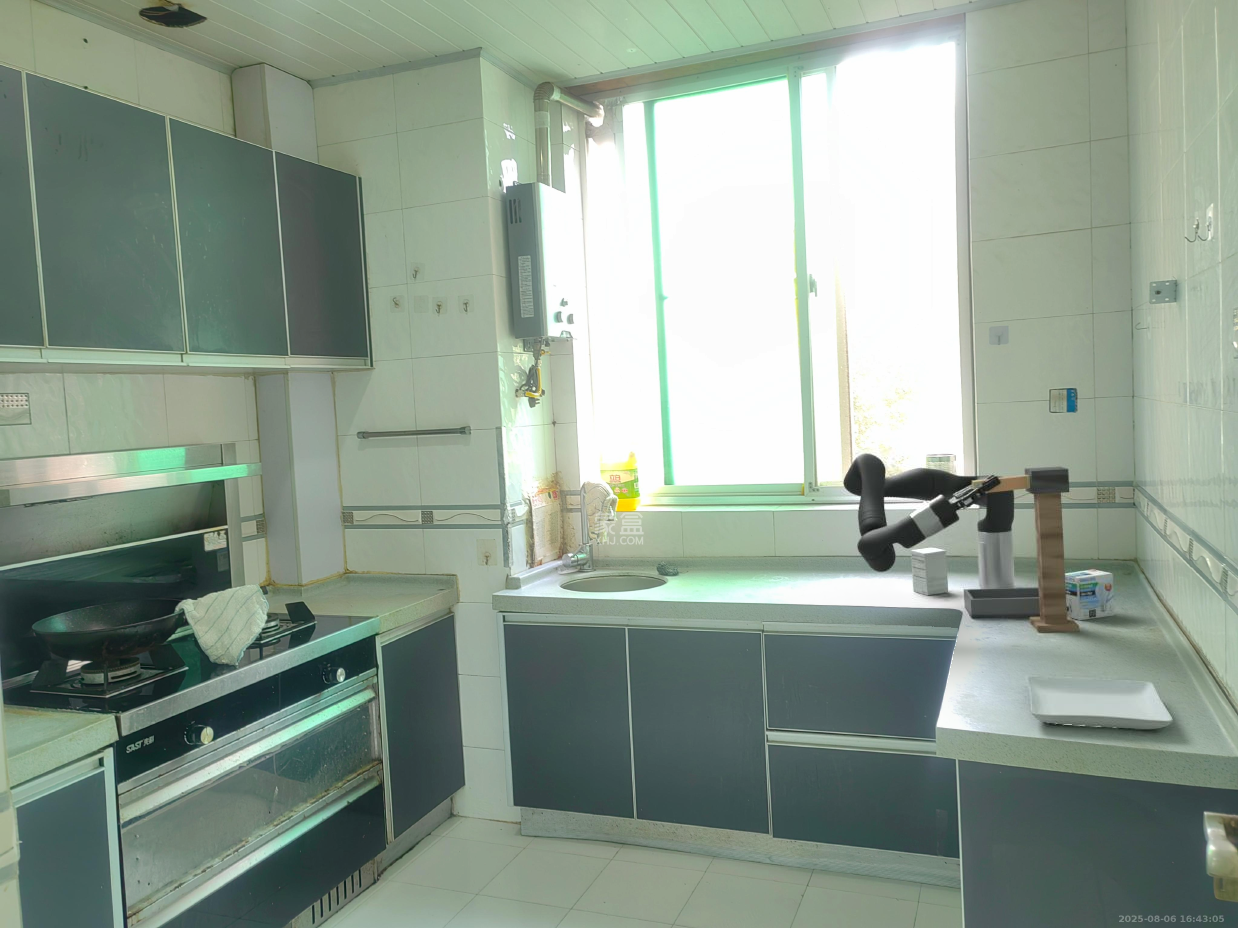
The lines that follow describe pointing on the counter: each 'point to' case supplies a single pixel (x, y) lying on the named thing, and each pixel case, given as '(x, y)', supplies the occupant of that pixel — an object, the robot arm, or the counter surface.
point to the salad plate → (1097, 702)
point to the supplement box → (929, 571)
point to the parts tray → (1002, 603)
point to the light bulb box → (1089, 594)
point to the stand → (1050, 548)
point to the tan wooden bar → (1007, 483)
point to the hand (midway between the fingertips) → (997, 478)
